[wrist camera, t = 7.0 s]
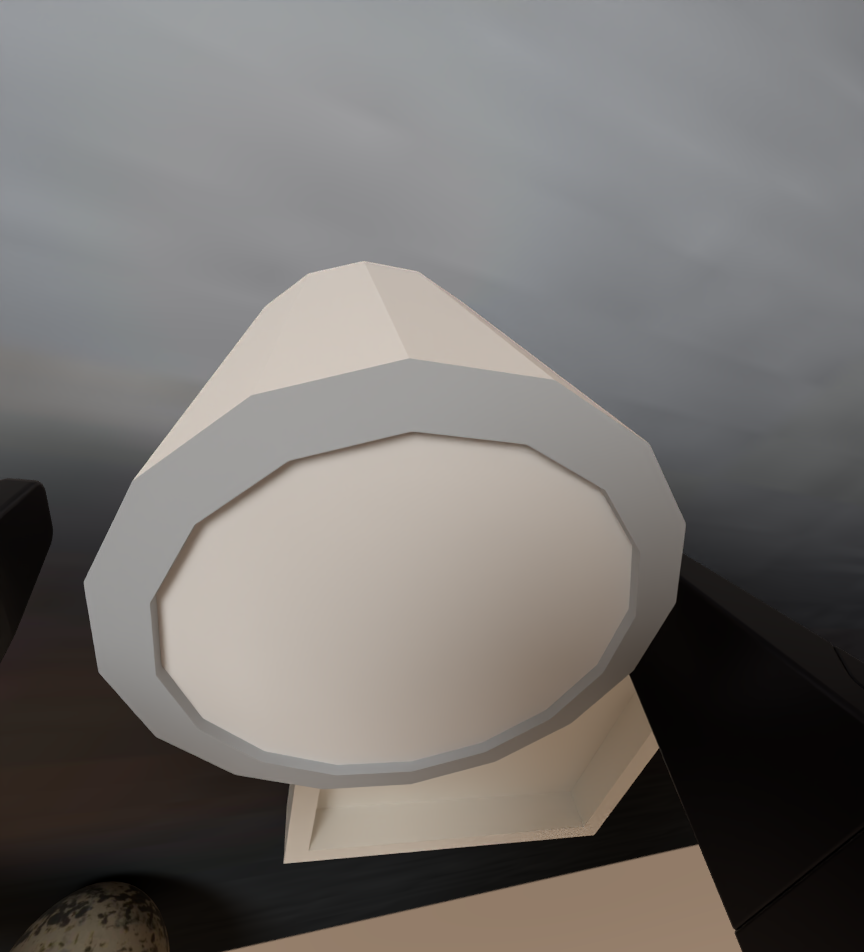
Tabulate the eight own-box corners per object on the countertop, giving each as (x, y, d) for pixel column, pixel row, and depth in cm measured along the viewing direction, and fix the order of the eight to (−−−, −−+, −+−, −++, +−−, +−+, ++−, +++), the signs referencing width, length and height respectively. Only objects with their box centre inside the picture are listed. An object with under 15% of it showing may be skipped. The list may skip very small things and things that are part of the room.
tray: (286, 805, 21) (283, 863, 19) (319, 563, 14) (319, 620, 13) (575, 786, 24) (593, 834, 22) (708, 581, 18) (747, 628, 16)
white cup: (307, 552, 14) (295, 845, 8) (132, 317, 10) (-113, 564, 5) (548, 451, 14) (711, 690, 8) (460, 163, 10) (655, 220, 4)
